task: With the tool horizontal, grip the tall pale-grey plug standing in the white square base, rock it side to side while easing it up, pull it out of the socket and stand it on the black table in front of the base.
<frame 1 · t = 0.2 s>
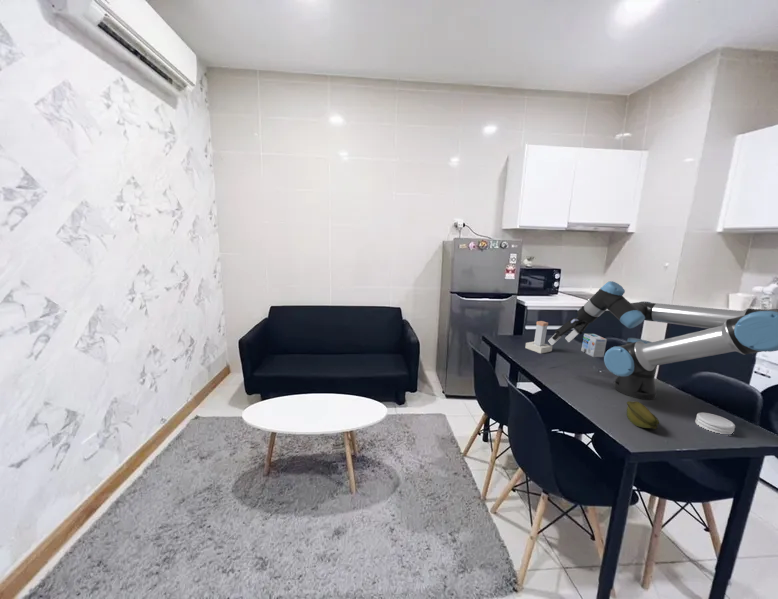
hand: (558, 341, 161), 15 cm above the table, tool tilted 35°, fingers open, 13 cm apart
fruit: (639, 423, 121), on the table
light bulb box: (591, 354, 195), on the table
white square base: (538, 351, 194), on the table
plug: (538, 349, 194), point 1 cm above the table, touching white square base
white ridged lid: (713, 428, 121), on the table
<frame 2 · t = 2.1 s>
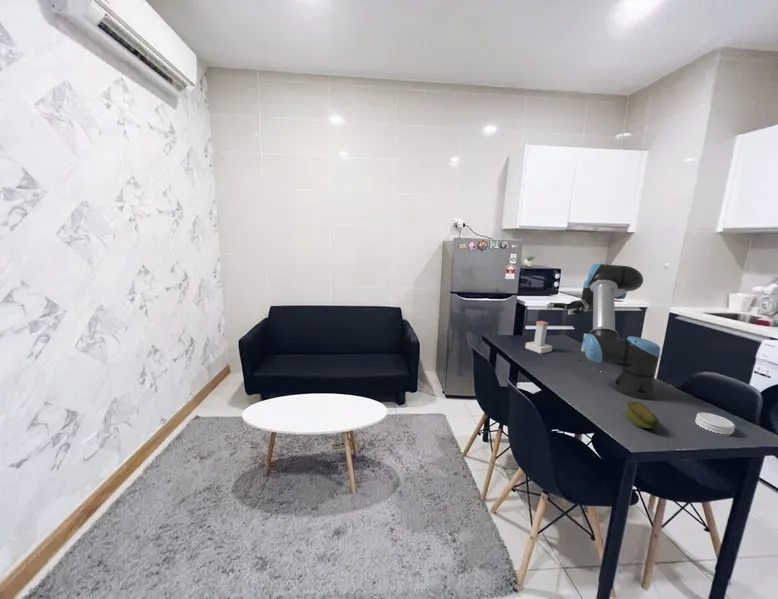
hand: (557, 309, 193), 24 cm above the table, tool horizontal, fingers open, 13 cm apart
nothing on the table moved.
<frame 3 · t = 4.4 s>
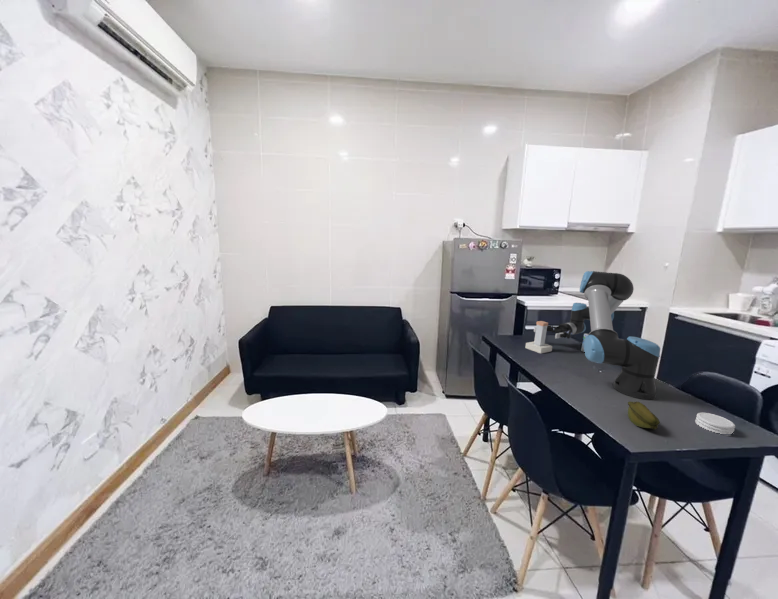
hand: (544, 332, 195), 10 cm above the table, tool horizontal, fingers open, 13 cm apart
nothing on the table moved.
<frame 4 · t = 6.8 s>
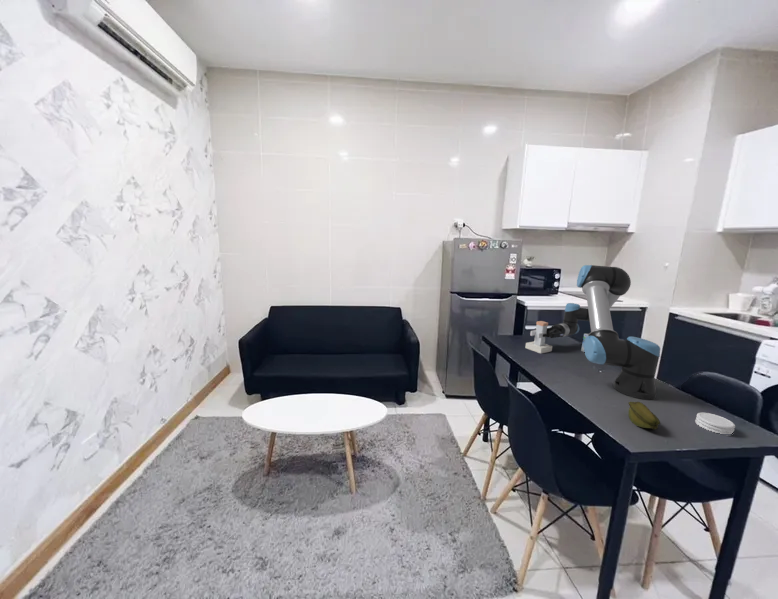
hand: (534, 334, 189), 10 cm above the table, tool horizontal, fingers closed on plug, 4 cm apart
plug: (538, 349, 194), point 1 cm above the table, touching gripper, white square base
everything else where it was.
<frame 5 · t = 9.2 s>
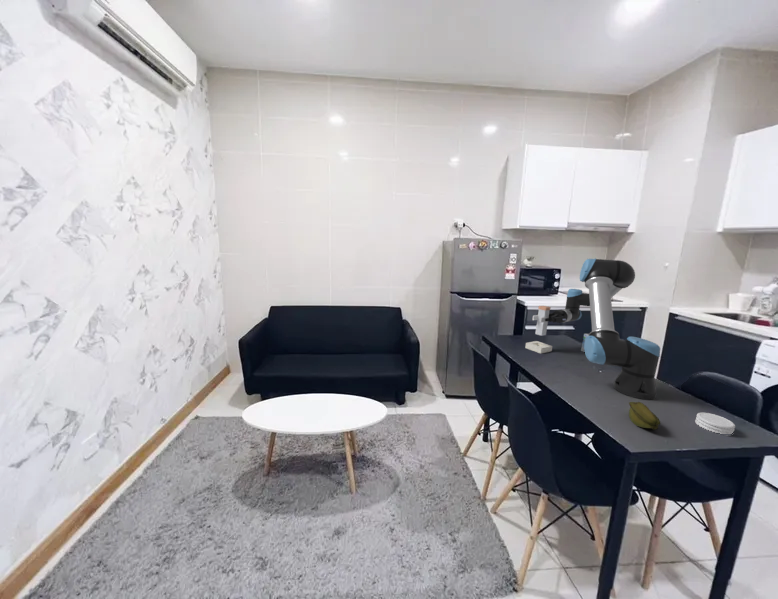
hand: (536, 318, 188), 20 cm above the table, tool horizontal, fingers closed on plug, 4 cm apart
plug: (540, 334, 192), point 10 cm above the table, touching gripper
everything else where it was.
when the fingers open (11 cm above the table, at t = 12.1 s): plug drops 1 cm, on the table.
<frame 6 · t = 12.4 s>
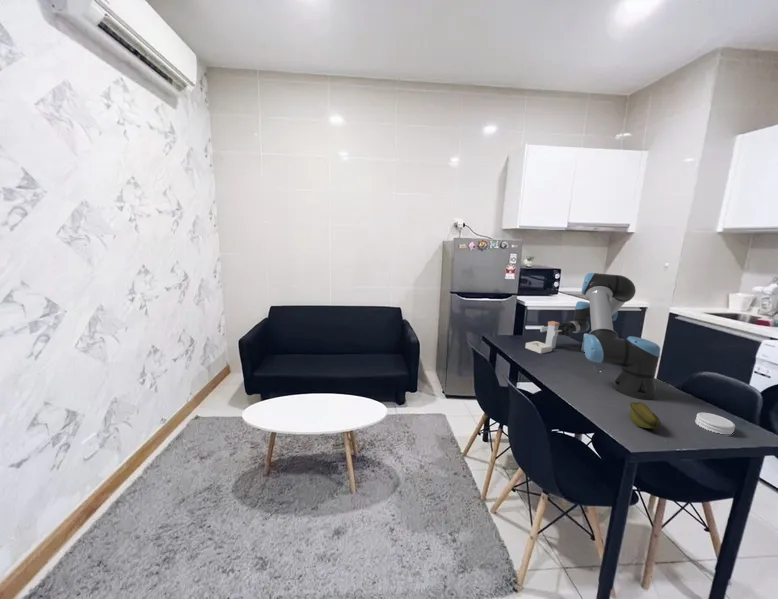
hand: (547, 331, 195), 11 cm above the table, tool horizontal, fingers open, 8 cm apart
plug: (549, 348, 200), on the table
everything else where it was.
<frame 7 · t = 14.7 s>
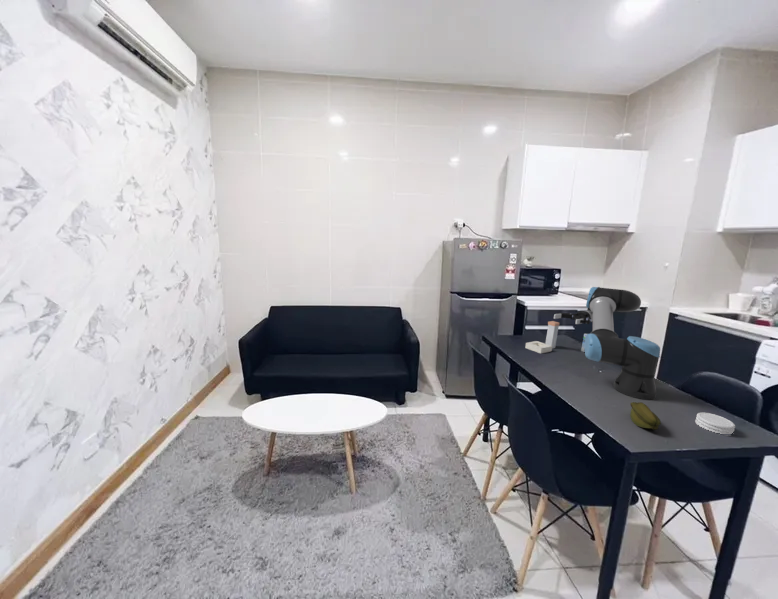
hand: (565, 319, 201), 17 cm above the table, tool horizontal, fingers open, 13 cm apart
nothing on the table moved.
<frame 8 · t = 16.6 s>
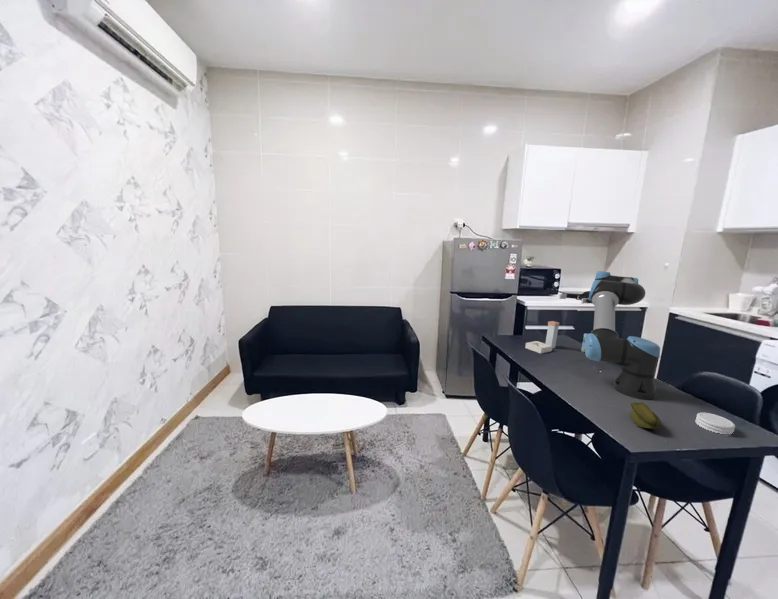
hand: (570, 298, 197), 30 cm above the table, tool horizontal, fingers open, 13 cm apart
nothing on the table moved.
at the end: plug inside the target area (1.0 cm from its centre), on the table; plug tilted 0°; the gripper is holding nothing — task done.
